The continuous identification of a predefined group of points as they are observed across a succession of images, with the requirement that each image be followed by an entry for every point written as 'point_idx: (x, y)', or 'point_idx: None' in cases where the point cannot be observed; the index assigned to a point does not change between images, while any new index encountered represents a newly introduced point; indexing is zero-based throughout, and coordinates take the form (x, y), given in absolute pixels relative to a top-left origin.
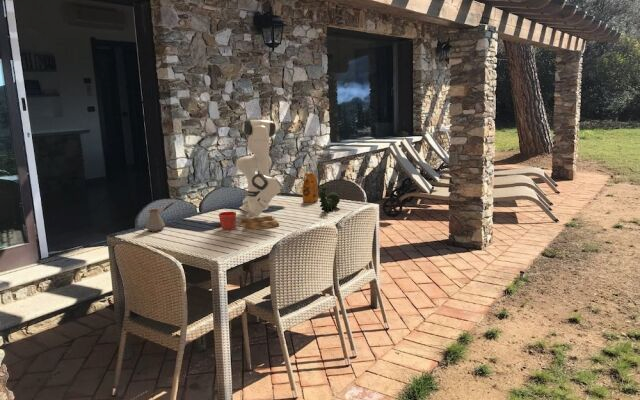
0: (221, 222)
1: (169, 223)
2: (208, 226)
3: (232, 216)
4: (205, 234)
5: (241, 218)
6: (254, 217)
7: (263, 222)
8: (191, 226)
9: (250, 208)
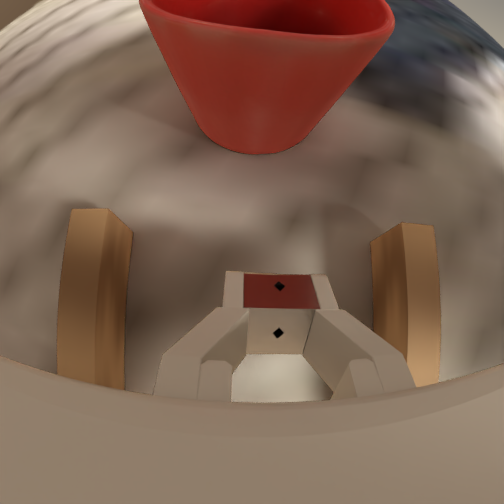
0: (223, 15)
1: (439, 6)
2: None
3: (149, 25)
4: None
5: (434, 236)
6: None
7: None
8: None
9: (415, 421)
